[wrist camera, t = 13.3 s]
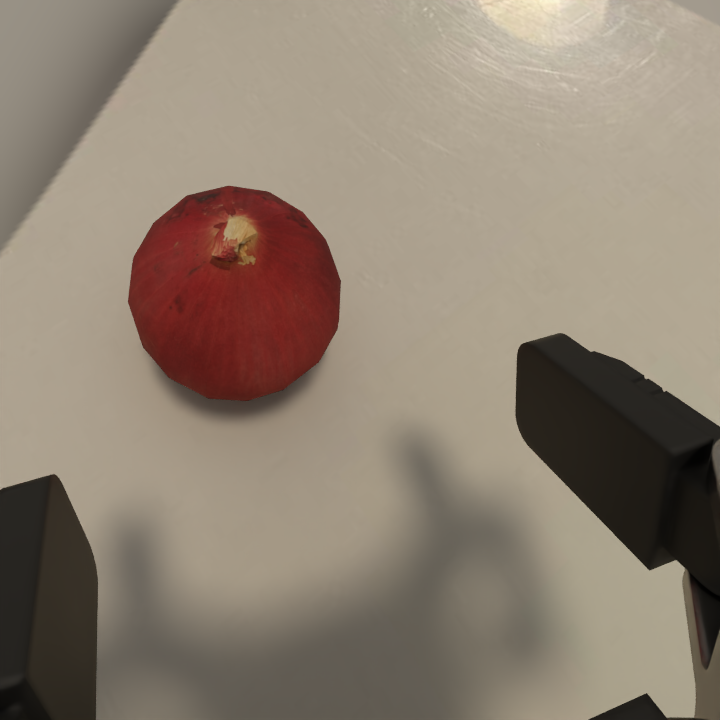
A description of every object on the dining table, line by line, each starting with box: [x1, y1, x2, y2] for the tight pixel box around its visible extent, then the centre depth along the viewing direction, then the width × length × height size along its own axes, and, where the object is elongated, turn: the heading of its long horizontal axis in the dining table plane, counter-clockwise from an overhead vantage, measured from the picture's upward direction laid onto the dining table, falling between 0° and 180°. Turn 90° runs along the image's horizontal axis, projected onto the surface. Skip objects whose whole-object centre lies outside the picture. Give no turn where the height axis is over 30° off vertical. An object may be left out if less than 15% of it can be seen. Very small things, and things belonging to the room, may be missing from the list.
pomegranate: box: [128, 186, 341, 401], centre depth 18 cm, size 6×6×8 cm
